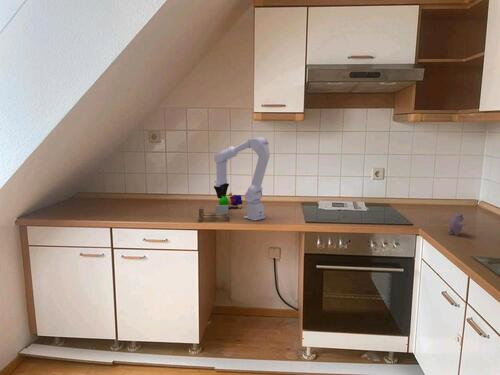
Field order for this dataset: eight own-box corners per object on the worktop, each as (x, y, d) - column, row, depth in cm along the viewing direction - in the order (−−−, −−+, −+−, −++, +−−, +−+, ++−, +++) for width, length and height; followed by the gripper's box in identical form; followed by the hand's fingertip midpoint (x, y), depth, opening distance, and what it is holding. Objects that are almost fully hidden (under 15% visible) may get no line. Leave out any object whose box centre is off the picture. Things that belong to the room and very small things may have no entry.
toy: (234, 194, 237) (213, 196, 229) (240, 188, 230) (219, 190, 222) (240, 211, 232) (219, 214, 224) (246, 205, 226) (224, 207, 218)
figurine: (466, 238, 168) (469, 216, 166) (452, 238, 169) (454, 215, 167) (456, 231, 179) (459, 210, 178) (443, 230, 180) (445, 209, 179)
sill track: (229, 218, 204) (229, 205, 203) (229, 221, 197) (229, 208, 196) (200, 218, 203) (199, 206, 202) (199, 221, 196) (198, 209, 195)
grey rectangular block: (228, 215, 210) (228, 205, 209) (228, 216, 208) (228, 205, 207) (216, 215, 209) (215, 205, 208) (215, 216, 207) (215, 206, 206)
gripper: (219, 171, 218) (219, 194, 221) (210, 175, 205) (210, 199, 207) (230, 172, 217) (230, 195, 219) (222, 175, 203) (222, 199, 205)
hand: (221, 197), depth 213 cm, fingers open, 7 cm apart
